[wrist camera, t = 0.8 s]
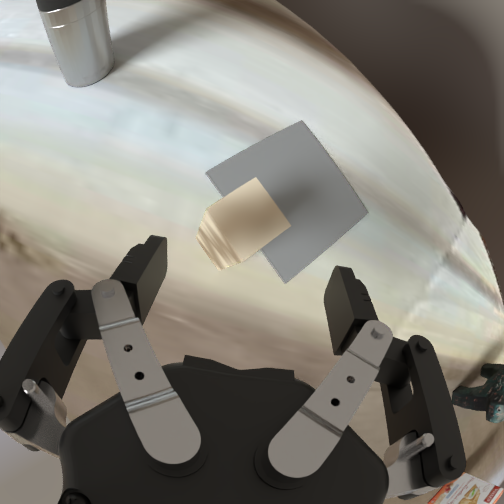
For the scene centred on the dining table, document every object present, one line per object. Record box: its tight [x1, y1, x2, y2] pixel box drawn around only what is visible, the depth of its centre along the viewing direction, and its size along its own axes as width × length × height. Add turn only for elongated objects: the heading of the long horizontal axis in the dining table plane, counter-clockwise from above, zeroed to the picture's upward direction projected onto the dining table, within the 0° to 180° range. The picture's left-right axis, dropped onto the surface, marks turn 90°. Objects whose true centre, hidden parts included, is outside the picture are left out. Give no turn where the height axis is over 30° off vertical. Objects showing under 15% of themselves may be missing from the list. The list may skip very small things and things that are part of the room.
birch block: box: [196, 177, 291, 270], centre depth 29 cm, size 5×5×14 cm
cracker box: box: [428, 472, 503, 504], centre depth 33 cm, size 14×6×21 cm, turn 129°
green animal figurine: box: [452, 364, 504, 423], centre depth 37 cm, size 20×6×20 cm, turn 99°
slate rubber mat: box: [206, 120, 368, 283], centre depth 39 cm, size 18×18×1 cm
